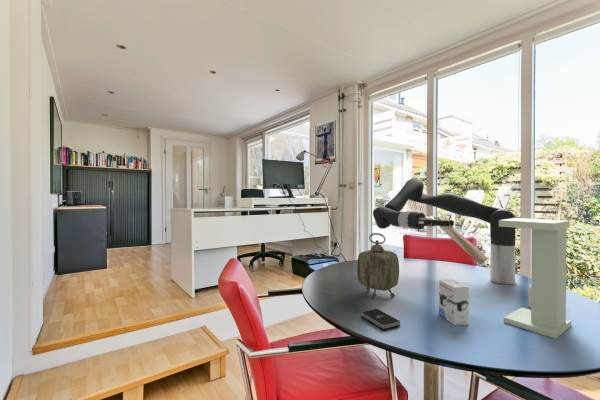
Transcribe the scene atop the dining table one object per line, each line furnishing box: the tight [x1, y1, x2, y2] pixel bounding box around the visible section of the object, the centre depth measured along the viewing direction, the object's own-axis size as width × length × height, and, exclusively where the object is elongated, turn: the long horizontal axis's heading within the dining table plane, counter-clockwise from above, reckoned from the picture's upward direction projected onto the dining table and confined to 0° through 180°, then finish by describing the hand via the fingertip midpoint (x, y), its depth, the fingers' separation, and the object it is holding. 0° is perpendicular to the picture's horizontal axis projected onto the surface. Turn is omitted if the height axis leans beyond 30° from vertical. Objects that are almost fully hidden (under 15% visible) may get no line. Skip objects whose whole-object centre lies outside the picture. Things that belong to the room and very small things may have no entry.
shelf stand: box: [499, 217, 572, 339], centre depth 87 cm, size 14×14×32 cm
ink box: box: [438, 279, 470, 326], centre depth 90 cm, size 8×5×12 cm, turn 5°
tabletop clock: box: [356, 232, 400, 298], centre depth 111 cm, size 14×9×25 cm, turn 47°
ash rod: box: [436, 216, 489, 265], centre depth 106 cm, size 3×22×3 cm
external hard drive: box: [360, 308, 401, 332], centre depth 89 cm, size 7×11×2 cm, turn 25°
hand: (451, 223), depth 108 cm, fingers closed on ash rod, 2 cm apart
